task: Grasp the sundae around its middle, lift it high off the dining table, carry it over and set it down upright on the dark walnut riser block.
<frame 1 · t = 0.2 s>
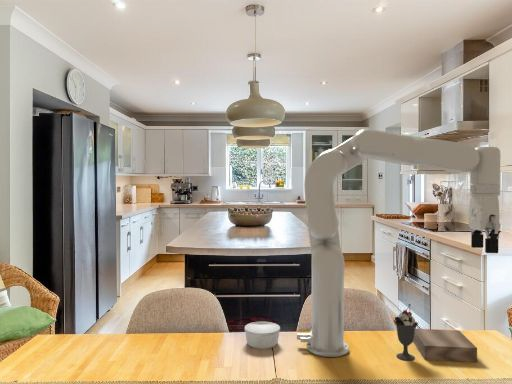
hand: (484, 250, 118), 31 cm above the table, tool pointing down, fingers open, 9 cm apart
sundae: (405, 357, 118), on the table
riser: (442, 350, 123), on the table
ramekin: (262, 344, 129), on the table
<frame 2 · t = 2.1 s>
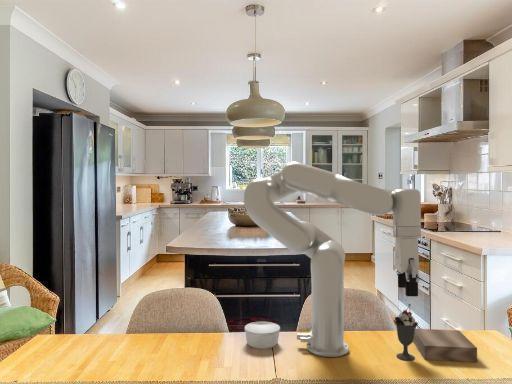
hand: (407, 291, 118), 19 cm above the table, tool pointing down, fingers open, 9 cm apart
nothing on the table moved.
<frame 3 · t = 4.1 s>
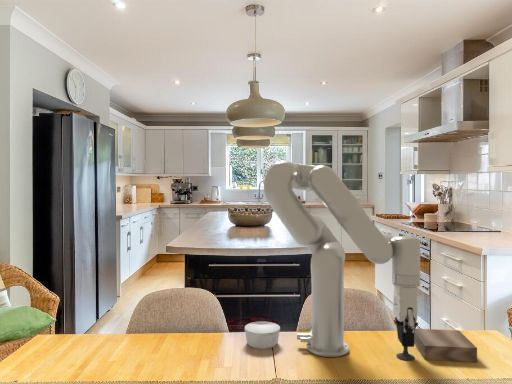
hand: (405, 341, 118), 4 cm above the table, tool pointing down, fingers closed on sundae, 4 cm apart
sundae: (405, 357, 118), on the table, touching gripper
everything else where it was.
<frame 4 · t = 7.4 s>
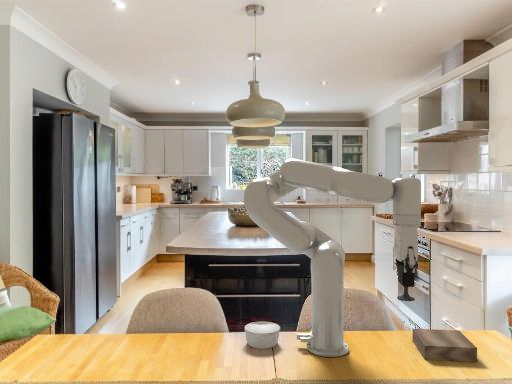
hand: (405, 283, 118), 21 cm above the table, tool pointing down, fingers closed on sundae, 4 cm apart
sundae: (405, 299, 118), point 17 cm above the table, touching gripper
everything else where it was.
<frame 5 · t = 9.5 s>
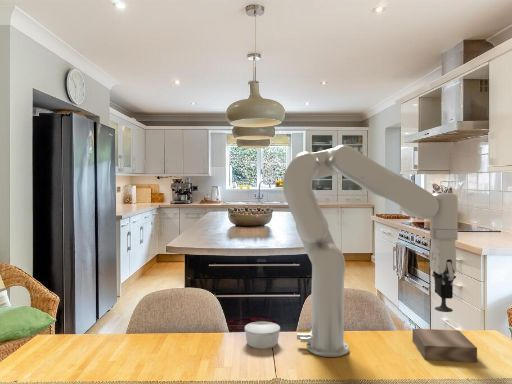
hand: (443, 295, 123), 17 cm above the table, tool pointing down, fingers closed on sundae, 4 cm apart
sundae: (443, 310, 123), point 12 cm above the table, touching gripper
everything else where it was.
when the fingers open (9 cm above the table, at t = 11.2 s): sundae moves 1 cm, resting on riser.
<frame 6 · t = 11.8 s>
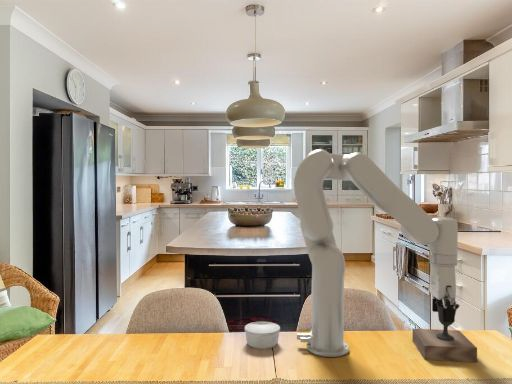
hand: (442, 316, 123), 10 cm above the table, tool pointing down, fingers open, 9 cm apart
sundae: (444, 337, 123), point 4 cm above the table, touching riser
everything else where it was.
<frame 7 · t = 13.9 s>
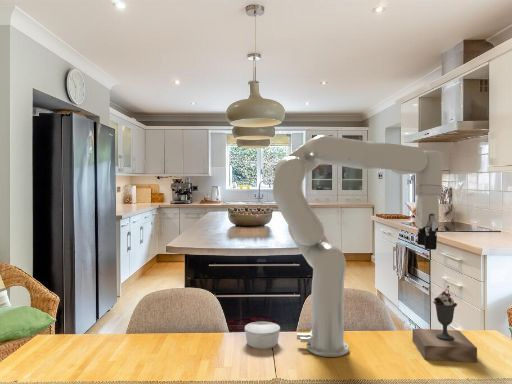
hand: (426, 246, 127), 30 cm above the table, tool pointing down, fingers open, 9 cm apart
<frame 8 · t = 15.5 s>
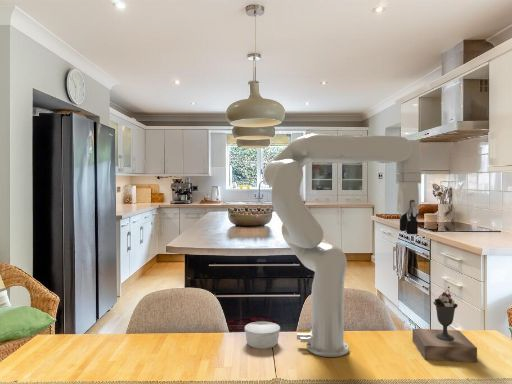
hand: (408, 232, 132), 34 cm above the table, tool pointing down, fingers open, 9 cm apart
nothing on the table moved.
at the end: sundae inside the target area on the riser (0.7 cm from its centre), point 3.9 cm above the riser's base; sundae tilted 2°; the gripper is holding nothing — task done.
